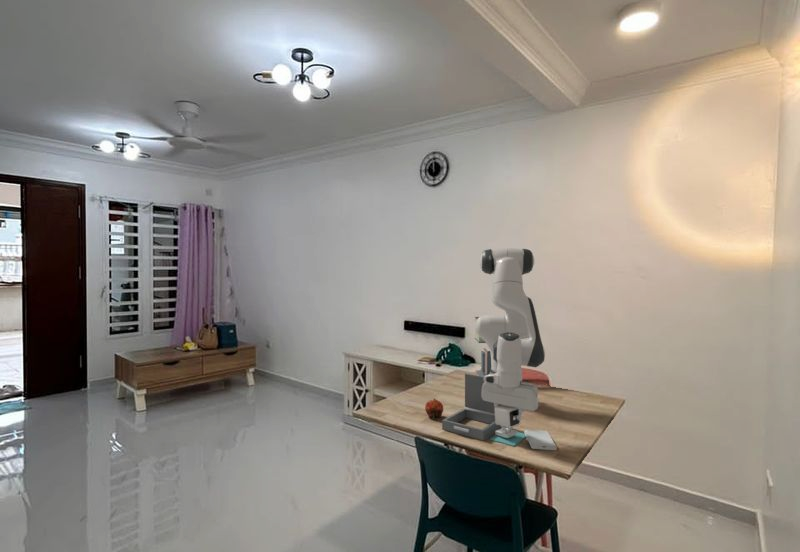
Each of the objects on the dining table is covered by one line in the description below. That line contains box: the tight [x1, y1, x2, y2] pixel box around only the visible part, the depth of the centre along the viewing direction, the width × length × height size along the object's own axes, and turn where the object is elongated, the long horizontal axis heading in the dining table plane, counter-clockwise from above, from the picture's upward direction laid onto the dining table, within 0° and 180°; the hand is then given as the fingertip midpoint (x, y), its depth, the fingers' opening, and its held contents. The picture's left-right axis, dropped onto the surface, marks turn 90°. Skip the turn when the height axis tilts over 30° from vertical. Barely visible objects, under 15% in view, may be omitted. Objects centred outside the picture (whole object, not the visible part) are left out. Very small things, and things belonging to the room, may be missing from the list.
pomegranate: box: [424, 398, 444, 421], centre depth 174 cm, size 7×7×10 cm
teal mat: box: [489, 431, 526, 447], centre depth 153 cm, size 12×9×1 cm
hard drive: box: [523, 429, 558, 451], centre depth 149 cm, size 2×8×12 cm
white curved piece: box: [474, 316, 491, 377], centre depth 233 cm, size 18×14×33 cm
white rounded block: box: [494, 405, 521, 438], centre depth 153 cm, size 6×7×10 cm
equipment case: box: [441, 373, 502, 442], centre depth 162 cm, size 19×18×18 cm
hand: (509, 417), depth 153 cm, fingers closed on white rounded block, 6 cm apart
